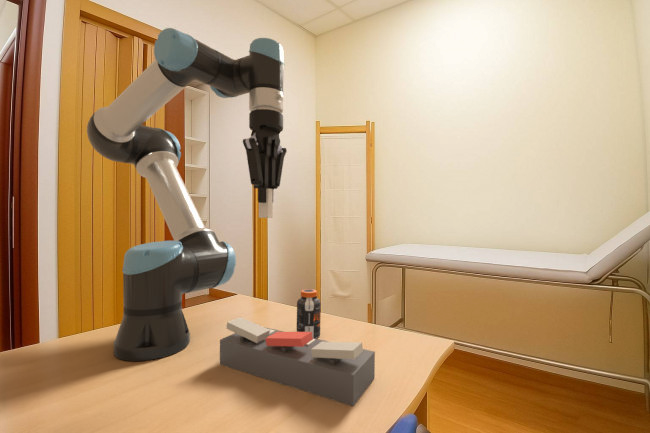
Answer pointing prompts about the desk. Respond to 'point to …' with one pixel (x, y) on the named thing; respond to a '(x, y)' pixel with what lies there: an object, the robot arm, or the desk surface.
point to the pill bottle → (309, 312)
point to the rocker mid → (289, 339)
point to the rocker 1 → (248, 329)
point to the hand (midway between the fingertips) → (265, 217)
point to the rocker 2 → (337, 350)
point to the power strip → (301, 367)
